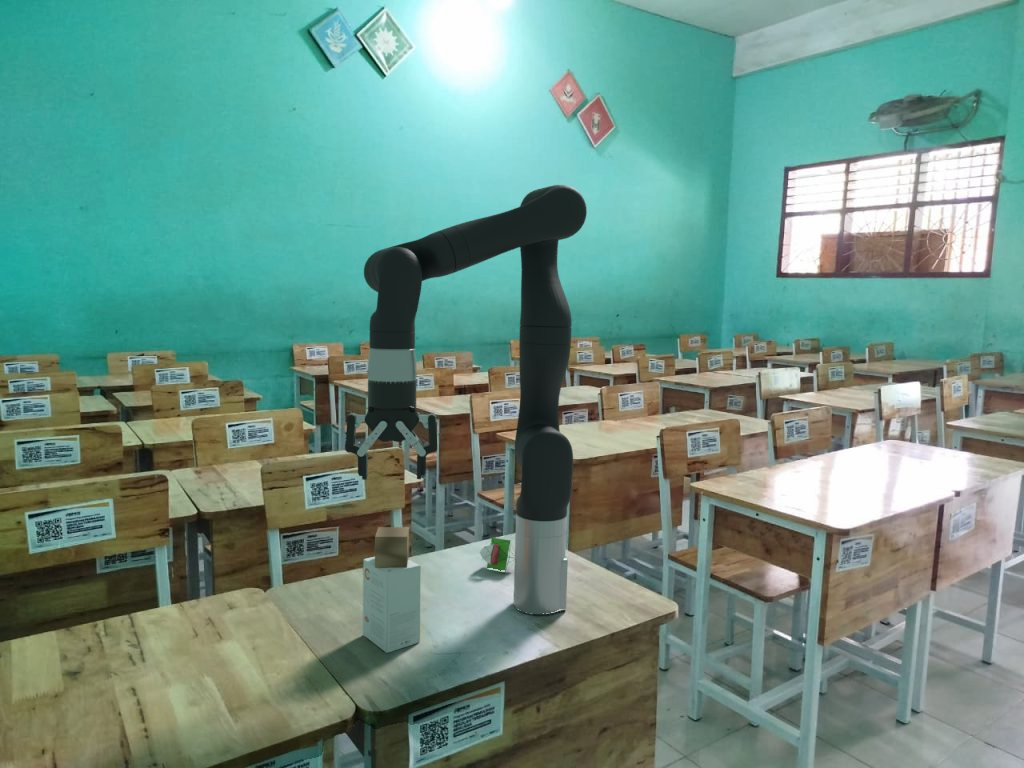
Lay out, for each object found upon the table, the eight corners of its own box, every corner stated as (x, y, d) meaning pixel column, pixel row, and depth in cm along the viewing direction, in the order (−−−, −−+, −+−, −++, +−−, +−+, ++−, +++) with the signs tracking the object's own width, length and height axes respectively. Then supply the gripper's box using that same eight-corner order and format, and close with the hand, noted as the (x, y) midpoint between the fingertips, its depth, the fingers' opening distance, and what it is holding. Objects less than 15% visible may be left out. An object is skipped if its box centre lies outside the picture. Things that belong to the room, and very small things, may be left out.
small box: (420, 642, 114) (421, 565, 113) (386, 654, 110) (386, 573, 109) (395, 624, 121) (396, 550, 119) (361, 635, 117) (362, 558, 115)
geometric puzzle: (494, 549, 153) (484, 527, 148) (523, 554, 150) (515, 531, 145) (482, 578, 148) (472, 555, 143) (512, 583, 146) (503, 561, 141)
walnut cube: (408, 556, 117) (409, 527, 116) (406, 567, 112) (407, 536, 111) (378, 556, 116) (378, 527, 116) (374, 567, 111) (375, 536, 111)
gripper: (437, 375, 115) (437, 472, 117) (349, 374, 114) (349, 473, 116) (437, 380, 108) (436, 484, 110) (342, 379, 106) (343, 484, 108)
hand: (392, 478), depth 113 cm, fingers open, 8 cm apart
